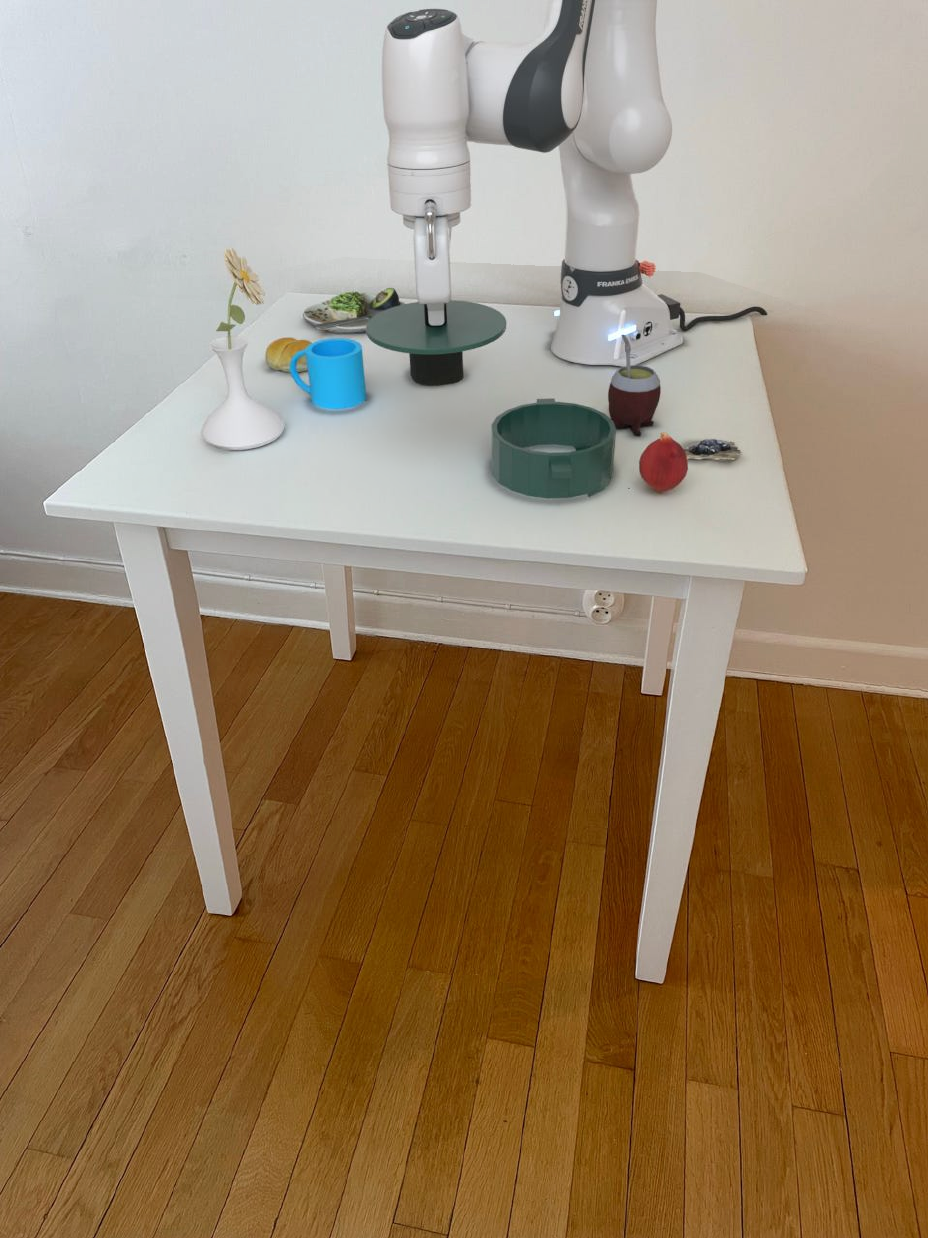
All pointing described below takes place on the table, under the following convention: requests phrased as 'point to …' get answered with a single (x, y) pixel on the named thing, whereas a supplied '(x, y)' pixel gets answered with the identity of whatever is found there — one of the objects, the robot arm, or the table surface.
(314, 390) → the mug
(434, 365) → the sushi
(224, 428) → the flower in vase
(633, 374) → the mate gourd
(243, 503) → the table surface
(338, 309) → the salad plate
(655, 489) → the onion
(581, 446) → the pot
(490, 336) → the lid
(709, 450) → the blueberries
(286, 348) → the bread roll
